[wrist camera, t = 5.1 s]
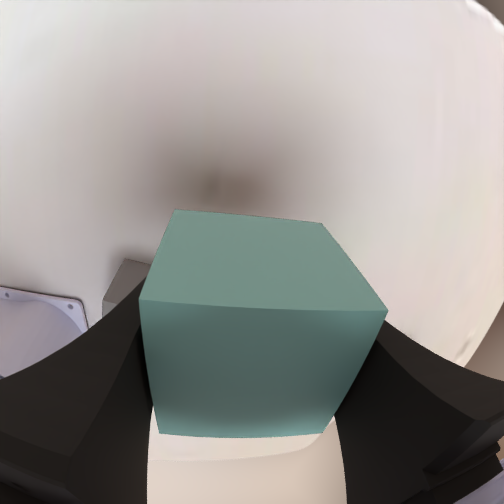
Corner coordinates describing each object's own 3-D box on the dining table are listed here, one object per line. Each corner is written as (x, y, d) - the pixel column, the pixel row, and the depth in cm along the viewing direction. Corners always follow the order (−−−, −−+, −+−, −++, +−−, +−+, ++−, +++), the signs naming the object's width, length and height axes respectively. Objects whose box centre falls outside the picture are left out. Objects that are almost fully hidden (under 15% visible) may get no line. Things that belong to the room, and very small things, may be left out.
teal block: (173, 327, 12) (159, 433, 7) (174, 209, 10) (138, 299, 5) (292, 333, 12) (322, 432, 8) (321, 223, 10) (388, 310, 6)
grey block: (120, 312, 21) (102, 358, 17) (125, 257, 19) (102, 300, 15) (181, 327, 22) (175, 376, 18) (194, 274, 20) (188, 321, 16)
